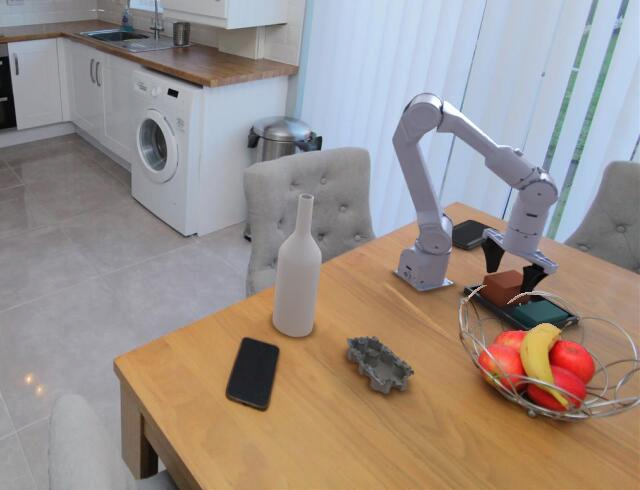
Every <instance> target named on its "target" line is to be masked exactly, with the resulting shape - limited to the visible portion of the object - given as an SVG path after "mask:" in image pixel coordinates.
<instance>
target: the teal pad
mask: <svg viewBox="0 0 640 490" xmlns="http://www.w3.org/2000/svg"><path fill="white" fill-rule="evenodd" d="M567 316H568V314H567V313H566V312H564V311H562V310H561V309H559V308H557V307H556V306H554V305H553V304H551V303H549V302H548V301H546V300H544V301H540V302H535V303H531V304H527V305H522V306H518V307H515V309H514V312H513V315H512V317H513V318H514V319H516V320H517V321H519V322H520V323H522V324H523V325H524V326H526V327H527V328H529V327H533V326H537V325H539V324H542V323H550V322H554V321H558V320H562V319H566V318H567Z"/></svg>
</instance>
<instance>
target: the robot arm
mask: <svg viewBox="0 0 640 490" xmlns="http://www.w3.org/2000/svg"><path fill="white" fill-rule="evenodd" d="M434 129H436V130H435V132H436V133H437V134H438V133H439V134H440V133H441V134H453V135H454V136H456V137H457V138H458V139H460V140H461V141H462V142H464V143H466V144H467V145H468V146H469V147H470V148H472V149H473V150H475V151H476V152H477V153H478V154H480V155H481V156H483V157H484V166H485V168H487V169H489V170H490V171H491V172H492V173H493V174H494V175H496V176H497V177H498V178H499V179H501V180H502V181H503V182H504V183H505V184H507V186H509V187H511V188H512V189H515V190H517V191H518V192H517V195H516V198H515V201H514V203H513V204H512V207H511V211H510V214H509V218H508V221H507V224H506V228H505V231H504V233H503V232H500V231H499V230H498V231H499V232H498V231H496V230H493V229H491V228H490V229H485V230H484V231H483V235H482V237H483V238H485V239H487V240H486V241H484V242H481V244H480V247H481V248H482V252H483V254H484V259H485V267H486V273H487V274H488V275H491V274H496V273H498V270H499V268H500V265H501V261H502V259H503V257H504V255H505V254H506V252H507V253H509V254H510V255H513V256H516V257H518V258H520V259H523V260H526V261H527V262H528V263H530V264H531V265H524V266H522V275H523V281H522V285H521V288H520V294H521V293H525V292H532V290H533V289H534V290H535V288H536V287H537V285H539V284H540V283H541V282H542V281H543V280H545V279H546V278H547V277H548V276H550V275H554V274H557V272H558V269H559V266H560V265H559V263H556V262H554V261H553V260H551V258H549V257H548V256H547V255H546V254H545V253H543V252H542V251H541V250H539V244H540V242H541V239H542V236H543V233H544V230H545V228H546V224H547V221H548V218H549V216H550V215H549V214H550V209H551V207H552V206H554V204H557V202H558V201H559V199H560V197H559V190H558V187H557V184H556V182H555V181H556V180H555V179H554V177H553V176H552V175H551V174H550V172H549V171H548V170H545V169H544V168H542V166H536V165H535V164H533V163H532V162H531V161H529V159H527V158H526V157H525V156H524V151H522V149H520V148H519V147H518V148H515V149H514V148H513V147H512V146H510V145H501V144H500V145H499V144H498V143H496V142H495V141H494V140H493V139H491V138H490V137H489V136H488V135H487V134H486V133H485V132H484V131H482V130H481V129H480V128H479V127H477V125H475V124H474V123H473V122H472V121H471V120H470V119H468V117H466V116H465V115H464V114H463V113H462V112H461V111H459V110H458V109H457V108H455V107H454V106H453V105H452V104H451V103H449V102H448V101H445V100H444V101H443V99H441V97H440V96H438V95H437V94H435V93H432V92H420V93H417V94H416V95H415V96H413V98H411V99H410V100H409V102H408V103H407V104H406V105H405V106H404V108H403V111H402V114H401V116H400V117H399V121H398V123H397V126H396V128H395V131H394V133H393V136H392V138H391V143H392V145H393V149H394V152H395V154H396V157H397V160H398V163H399V167H400V169H401V173H402V175H403V177H404V180H405V181H404V182H405V183H406V185H407V186H406V187H407V189H408V191H409V195H410V198H411V201H412V203H413V206H414V209H415V212H416V213H415V214H416V222H417V228H418V230H419V234H418V236H417V237H416V238H415V240H414V243H412V245H410V246H409V247H407V248H403V250H401V253H400V256H399V262H398V266H397V269H395V270H394V271H393V272H394V274H395V275H396V276H398V277H400V278H401V279H403V280H404V281H405V282H407V283H408V284H409V285H410V286H412V287H413V288H414V289H416V291H418V292H424V291H428V290H434V289H438V288H442V287H443V288H444V287H447V286H452V285H454V282H453V281H451V280H450V279H449V278H447V277H446V275H447V270H448V266H449V262H450V258H451V255H452V251H453V247H452V246H453V244H452V230H453V226H454V222H453V220H452V218H451V217H450V216H449V215H447V213H446V212H445V210H444V206H443V205H442V204H440V201H439V198H438V195H437V192H436V189H435V187H434V183H433V180H432V178H431V175H430V171H429V169H428V166H427V162H426V159H425V156H424V154H423V151H422V148H421V145H420V141H421V139H422V138H423V137H424V136H425V135H426V134H428V133H429V132H431V131H433V130H434ZM526 295H527V294H526Z"/></svg>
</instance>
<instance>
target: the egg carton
mask: <svg viewBox="0 0 640 490" xmlns="http://www.w3.org/2000/svg"><path fill="white" fill-rule="evenodd" d="M346 342H347V345H348V349H347V355H346V358H347V359H348V360H349V362H354V363H357V364H358V370H357V371H358V373H359V374H360V375H361V376H365V377H368V378H369V379H370V384H369V386H370V388H372V390H375V391H378V392H380V393H382V394H384V395H385V394H389V393H390V391H391V388H395V389H396V388H397V389H398V390H399V391H401V392H403V391H406V390H407V387H408V381H409V378H410V377H411V376H414V375H415V371H414V369H412V367H411V365H409V363H408V362H406V361H405V360H404V359H403V360H402V359H401V358H400V356H398V355H397V354H396V353H394V352H393V350H392V349H391V348H389V347H388V346H387V345H385V344H384V343H383V342H381V341H380V340H379V338H378V337H377V336H376V335H373V336H372V337H369V336H368V335H366V336H364V337H363V336H360V337H357V336H356V337H354V338H350V337H347V338H346Z"/></svg>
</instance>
